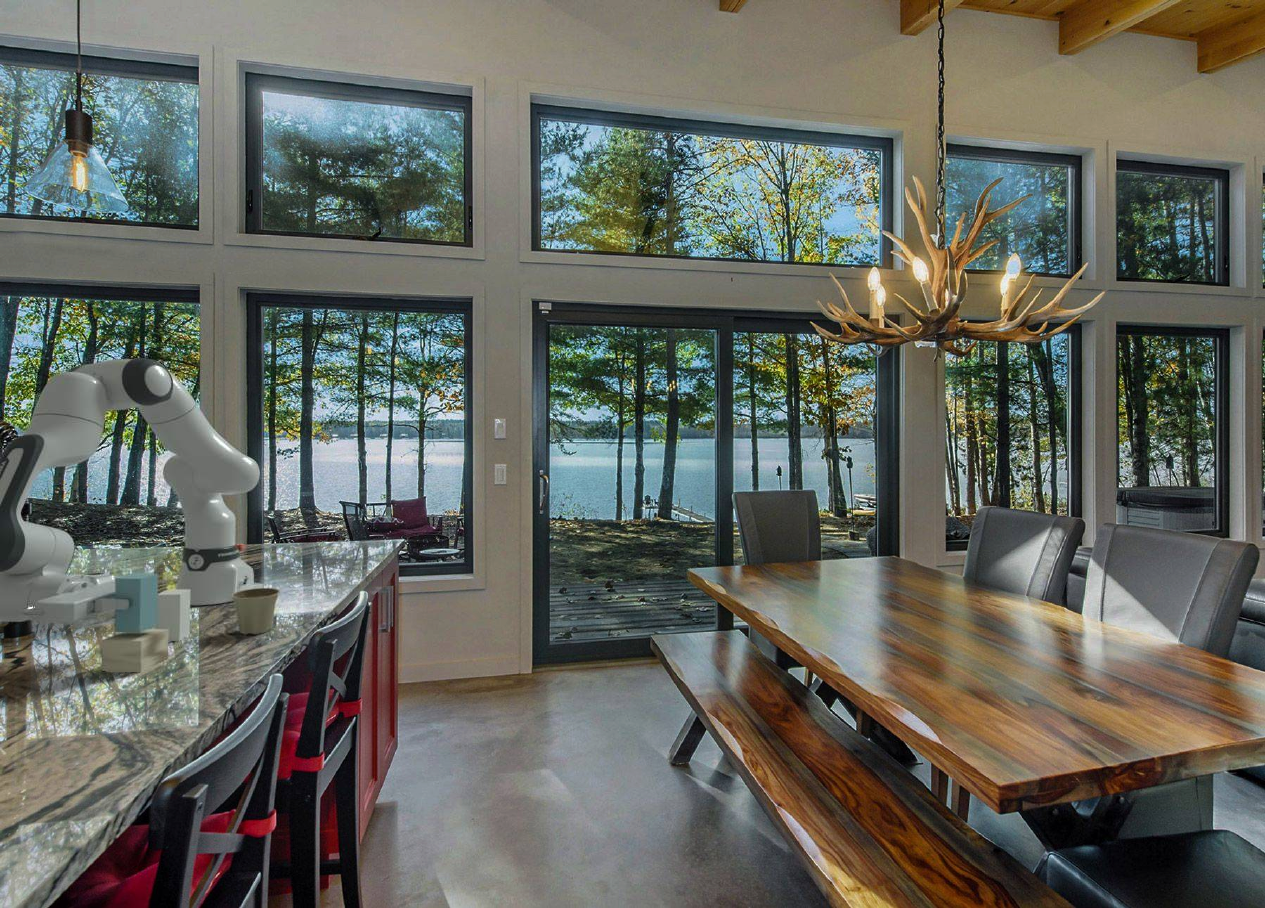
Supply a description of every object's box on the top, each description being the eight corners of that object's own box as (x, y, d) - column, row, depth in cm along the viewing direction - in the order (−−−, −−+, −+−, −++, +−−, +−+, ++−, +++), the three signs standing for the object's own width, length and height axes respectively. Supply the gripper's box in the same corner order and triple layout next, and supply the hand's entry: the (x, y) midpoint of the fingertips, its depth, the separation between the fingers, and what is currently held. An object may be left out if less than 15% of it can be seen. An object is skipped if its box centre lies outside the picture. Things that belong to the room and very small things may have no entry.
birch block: (131, 659, 121) (131, 628, 121) (168, 659, 121) (168, 629, 121) (101, 672, 114) (102, 640, 114) (140, 673, 114) (141, 640, 114)
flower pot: (256, 639, 134) (257, 599, 134) (219, 635, 136) (220, 596, 136) (289, 626, 144) (289, 589, 143) (254, 623, 145) (254, 586, 145)
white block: (166, 635, 135) (167, 589, 135) (189, 634, 136) (190, 589, 136) (155, 642, 131) (156, 594, 130) (179, 641, 132) (180, 594, 131)
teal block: (133, 624, 119) (133, 573, 119) (157, 625, 120) (158, 573, 119) (114, 632, 115) (115, 578, 115) (139, 632, 115) (140, 578, 115)
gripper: (13, 595, 106) (97, 596, 107) (108, 570, 127) (178, 571, 127) (12, 631, 106) (96, 633, 107) (108, 601, 127) (178, 602, 127)
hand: (141, 599), depth 117 cm, fingers closed on teal block, 4 cm apart
